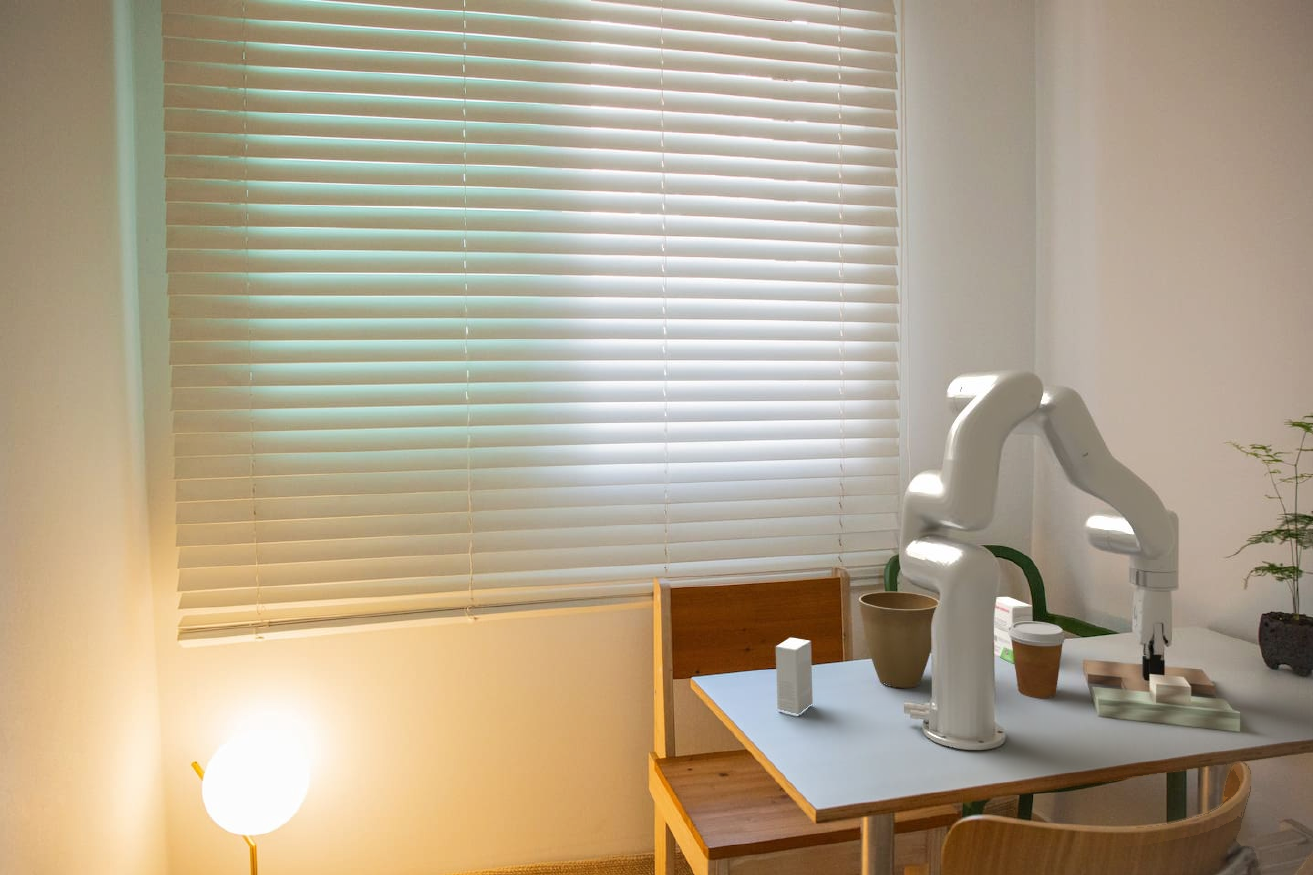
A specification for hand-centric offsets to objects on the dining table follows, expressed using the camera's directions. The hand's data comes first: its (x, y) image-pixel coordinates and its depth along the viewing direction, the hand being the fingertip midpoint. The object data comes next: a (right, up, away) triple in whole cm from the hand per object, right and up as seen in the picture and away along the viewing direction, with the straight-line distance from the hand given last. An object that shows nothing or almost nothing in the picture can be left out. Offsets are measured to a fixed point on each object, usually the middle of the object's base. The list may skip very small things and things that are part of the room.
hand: (1153, 679), depth 145 cm
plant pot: (-42, -4, +11) cm, 44 cm away
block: (-2, -2, -8) cm, 9 cm away
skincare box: (-64, -5, -1) cm, 65 cm away
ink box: (-15, -3, +24) cm, 28 cm away
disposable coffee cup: (-19, -4, +4) cm, 20 cm away
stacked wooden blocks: (0, -3, 0) cm, 3 cm away
